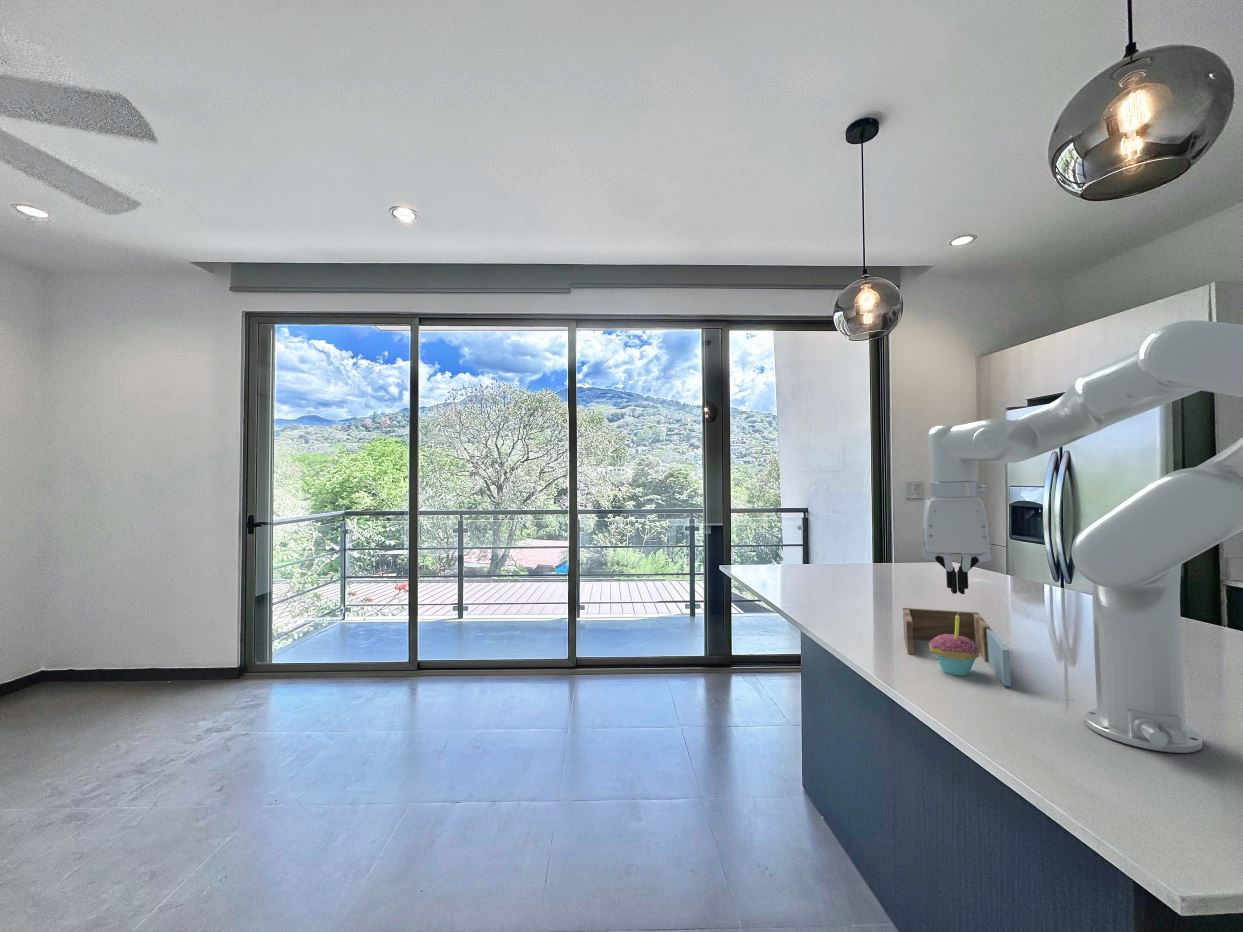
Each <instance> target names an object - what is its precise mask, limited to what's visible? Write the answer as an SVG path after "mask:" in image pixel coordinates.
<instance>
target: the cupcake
mask: <svg viewBox="0 0 1243 932" xmlns="http://www.w3.org/2000/svg"><path fill="white" fill-rule="evenodd" d="M958 614H959V613H957V616H956V618H955V635H954V634H953V635H952V634H943V635H938V636H937V637H935V638H933V639H932V640H931V641H928V648H929V650H930V651H931V653H932V654H934V655H935V656H936V658H937V661H938V663H939V666H940V669H941V671H942V672H943V671H944V672H943V673H945V674H948V675H952V674H953V676H962V677H963V676H969V675H970V674H971V671H972V668H973V664H974V663H975V661H976V660H977V658H980V653H979V650H978V646H977V645H976V644H975V642H973V641H972V640H970V639H968V638H967V637H963V636H959V616H958Z"/></svg>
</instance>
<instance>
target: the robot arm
mask: <svg viewBox="0 0 1243 932" xmlns="http://www.w3.org/2000/svg"><path fill="white" fill-rule="evenodd" d="M1200 391H1203V392H1209V393H1215V394H1221V395H1226V396H1232V397H1239V398H1243V324H1239V323H1238V324H1237V323H1231V322H1230V323H1229V322H1219V321H1211V320H1210V321H1209V320H1197V319H1195V320H1192V319H1191V320H1181V321H1176V322H1173V323H1170V324H1168V325H1164V326H1162V327H1161V328H1159V329H1157V330H1155V331H1153V332H1152V333H1151V334H1150V335H1148V336H1147V338H1146V339H1145V340H1144V341H1143V342H1142V344H1141V345H1140V348H1139V350H1136V351H1134V352H1133V353H1130V354H1127V355H1126V356H1124V357H1121V358H1119V359H1116V360H1114V361H1113V362H1110V363H1108V364H1105V365H1103V366H1101V367H1099V368H1096V369H1094V370H1092V371H1089V372H1087V373H1085V374H1083V375H1081V376H1079V377H1077V379H1075V380H1074V381H1073V382H1072V383H1071V384H1070V385H1069V387H1068V388H1067V390H1066V391H1065V392H1064V393H1063V394H1062V395H1061V396H1060V397H1058V398H1057V399H1055V400H1054V401H1052V402H1050V403H1049V404H1047V405H1045V406H1043V407H1041V408H1039V409H1037V410H1035V411H1031V412H1030V413H1028V414H1025V415H1022V416H1021V417H1020V416H1019V417H1018V418H1016V419H1004V418H1003V419H1002V418H988V419H982V420H977V421H972V422H968V423H954V424H953V423H950V424H940V425H935V426H932V427H931V428H930V429H929V431H928V432H927V445H928V450H927V451H928V470H929V471H928V472H929V473H928V474H929V495H930V496H929V497H930V499H925V502H924V507H923V508H924V509H923V520H922V521H923V522H922V523H923V524H922V525H923V526H922V533H923V534H922V536H923V537H922V539H923V541H922V542H923V550H922V554H921V555H922V556H921V557H922V558H924V560H925V559H926V560H929V561H933V562H935V563H936V562H937V563H938V564H939V565H940V566H941V567H942V568H943V569H944V570H945V572H946V573H945V574H946V575H945V576H946V577H945V578H946V579H945V580H946V588H947V589H950V592H951V593H952V595H957V594H958V592H959V594H961V595H965V590H968V589H969V575H968V574H969V572H970V571H971V569H973V568H974V567H975V566H976V565H977V564H978V563H984V562H989V561H992V560H993V556H992V554H991V550H990V534H989V527H988V520H987V515H986V509H985V504H984V501H983V499H981V498H979V496H980V495H981V494H983V493H988V485H987V484H985V485H984V484H980V483H979V481H978V468H977V467H978V466H977V465H978V464H977V462H979V463H992V464H993V463H996V464H1003V463H1004V464H1005V463H1007V464H1009V463H1010V464H1012V463H1015V464H1016V463H1020V462H1023V461H1024V462H1025V461H1027V460H1030V459H1033V458H1036V457H1038V456H1041V455H1043V454H1046V453H1049V452H1052V451H1054V450H1057V449H1059V448H1062V447H1064V446H1067V445H1070V444H1072V443H1074V442H1076V441H1078V440H1080V439H1083V438H1085V437H1088V436H1089V435H1092V434H1094V433H1095V434H1096V433H1097V432H1100V431H1102V430H1103V429H1106V428H1107V427H1110V426H1113V425H1115V424H1117V423H1119V422H1122V421H1125V420H1127V419H1129V418H1133V417H1135V416H1138V415H1140V414H1143V413H1146V412H1148V411H1151V410H1153V409H1155V408H1158V407H1162V406H1164V405H1167V404H1169V403H1172V402H1174V401H1178V400H1179V399H1183V398H1185V397H1188V396H1190V395H1193V394H1196V393H1199V392H1200ZM1242 531H1243V436H1242V437H1241V438H1239V440H1238V439H1237V440H1236V441H1235V442H1234V443H1232V444H1231V445H1230V446H1228V447H1227V448H1225V449H1223V450H1222V451H1220V452H1219V453H1217V454H1216V455H1214V456H1213V457H1211V458H1209V459H1206V461H1204V462H1202V463H1201V464H1200V463H1199V465H1197V466H1194V467H1188V468H1182V469H1177V470H1175V471H1172V472H1169V473H1167V474H1165V475H1163V476H1161V477H1159V478H1158V479H1156V480H1154V481H1152V482H1151V483H1149V484H1148V485H1146V486H1145V487H1143V488H1142V489H1140V490H1138V491H1137V492H1136V493H1134V494H1132V495H1131V496H1130V497H1128V498H1127V499H1125V500H1124V501H1122V502H1120V503H1119V504H1118V505H1116V506H1115V507H1113V508H1112V509H1110V510H1109V511H1107V512H1105V513H1104V514H1102V516H1101V515H1100V516H1099V517H1098V518H1096V519H1095V520H1094V521H1092V522H1091V523H1089V524H1088V525H1087V526H1085V527H1084V528H1082V529H1081V530H1080V531H1079V532H1078V533H1077V535H1076V536H1075V538H1074V539H1073V542H1072V545H1071V553H1070V554H1071V559H1072V562H1073V564H1074V567H1075V569H1076V570H1077V571H1078V573H1080V575H1082V576H1083V577H1084V578H1085V579H1086V580H1088V581H1089V582H1092V628H1093V629H1092V630H1093V648H1094V649H1093V650H1094V652H1093V653H1094V665H1095V666H1094V669H1095V686H1096V687H1095V688H1096V689H1095V691H1096V692H1095V693H1096V694H1095V695H1096V707H1097V708H1094V709H1090V710H1087V711H1086V712H1085V713H1084V723H1085V724H1086V726H1087V727H1088V728H1089V729H1091V731H1094V732H1095V733H1098V735H1101V736H1104V737H1105V738H1108V739H1111V740H1112V741H1116V742H1119V743H1121V744H1124V745H1125V744H1126V745H1128V746H1133V747H1136V748H1141V749H1146V750H1151V751H1156V752H1157V751H1158V752H1164V753H1177V754H1180V753H1181V754H1184V753H1185V754H1186V753H1194V752H1198V751H1199V750H1201V749H1202V748H1203V745H1204V743H1203V741H1204V740H1203V738H1202V736H1201V734H1200V733H1198V732H1197V731H1196V730H1194V729H1192V728H1191V727H1188V726H1187V723H1186V705H1185V690H1184V689H1185V688H1184V687H1185V686H1184V668H1183V653H1182V651H1183V649H1182V625H1181V623H1182V621H1181V574H1182V564H1184V563H1186V562H1188V561H1190V560H1191V559H1194V557H1195V558H1196V557H1197V556H1199V555H1201V554H1202V553H1204V552H1206V551H1207V550H1210V549H1211V548H1213V547H1215V546H1216V545H1218V544H1220V543H1222V542H1223V541H1225V540H1227V539H1229V538H1231V537H1232V536H1234V535H1237V534H1239V533H1241V532H1242ZM952 555H960V563H959V566H958V569H957V570H956V569H955V567H954V566H953V560H952Z"/></svg>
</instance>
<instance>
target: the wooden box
mask: <svg viewBox="0 0 1243 932" xmlns="http://www.w3.org/2000/svg"><path fill="white" fill-rule="evenodd" d="M957 613H959V614H958V616H959V636H963V637H967V638H968V639H970V640H972V641H973V642H975V644H976V645H977V646H978V650H979V655H980V656H981V657H982V659H983V660H984V662H988V663H989V661H988V650H987V629H991V627H990V625H989V624H988V623H987V621H986V620H985V619H984V617H982V615H981V614H980V613H979V612H977V611H975V612H973V611H959V610H943V609H942V610H941V609H928V608H927V609H925V608H915V607H914V608H913V607H903V608H902V618H903V637H904V638H903V639H904V643H905V644H904V645H905V648H906V653H907V652H908V653H909V654H908V653H907V654H908V655H913V654H914V655H915V648H914V646H915V645H914V640H916V639H917V640H919V641H920V640H921V641H928V642H930V641H931V640H932V639H933V638H935V637H937V636H938V635H943V634H952V635H953V634H954V635H955V618H956V616H957Z"/></svg>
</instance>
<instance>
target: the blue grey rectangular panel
mask: <svg viewBox="0 0 1243 932" xmlns="http://www.w3.org/2000/svg"><path fill="white" fill-rule="evenodd" d="M987 650H988V661H989V662H988V661H987V662H988V663H989V664H990V666H991V668H992V670H993V671H994V672H995V674H996V675H997V677H998V678H999V680H1000V681H1001V683H1002V684H1003V686H1005V687H1011V686H1012V683H1011V682H1012V680H1011V662H1010V658H1011V657H1010V649H1009V648H1008V647H1007V646H1006V644H1005V643H1004V642H1003V641H1002V639H1001V638H1000V637H999V636H998V635H997V633H996V632H995V631H994V630H993V629H992V628H990V629H987Z"/></svg>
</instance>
